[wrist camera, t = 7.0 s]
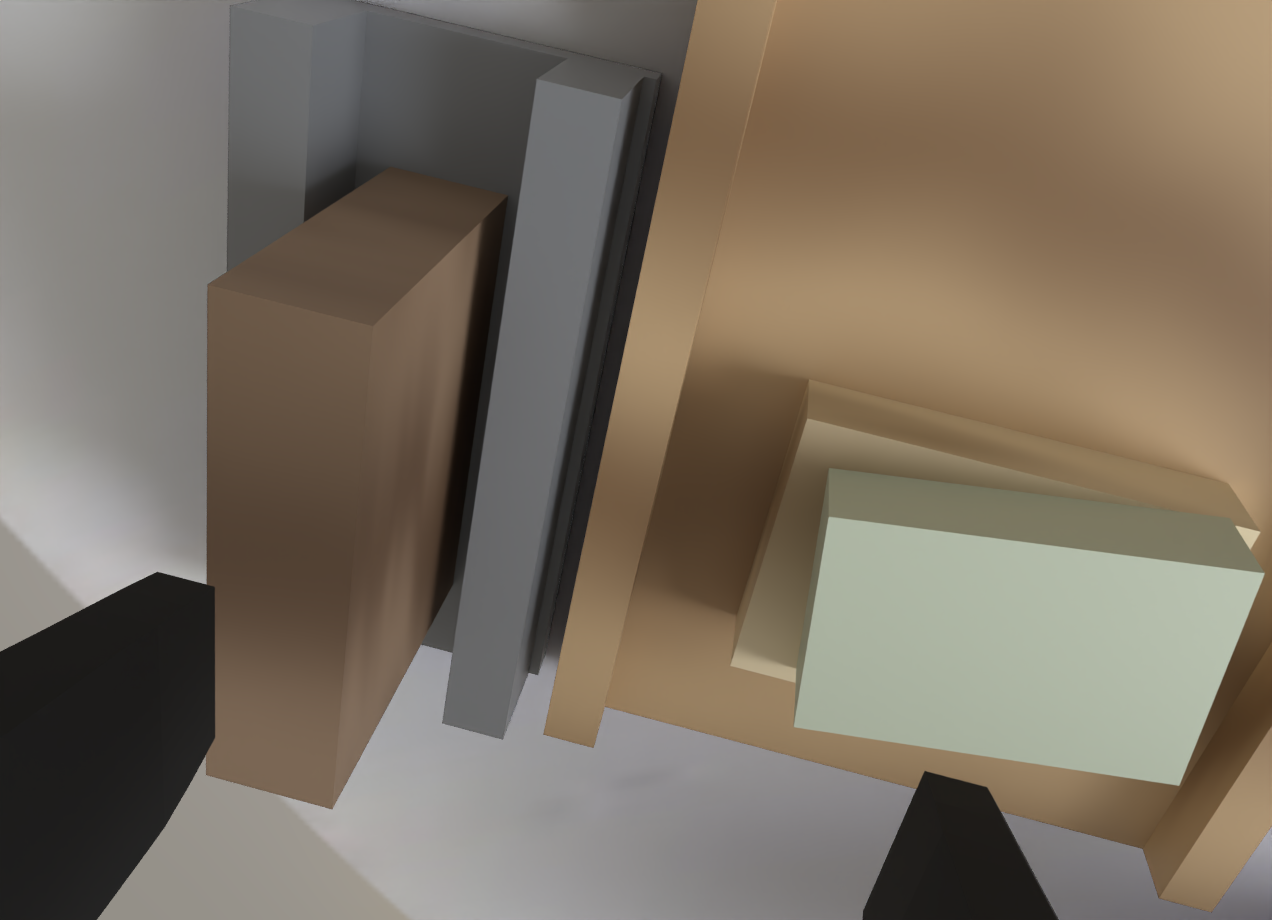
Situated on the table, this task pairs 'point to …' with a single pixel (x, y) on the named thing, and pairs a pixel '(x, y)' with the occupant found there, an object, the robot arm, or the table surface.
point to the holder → (527, 270)
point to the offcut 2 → (1019, 624)
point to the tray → (942, 341)
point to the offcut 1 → (929, 450)
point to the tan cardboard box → (339, 467)
